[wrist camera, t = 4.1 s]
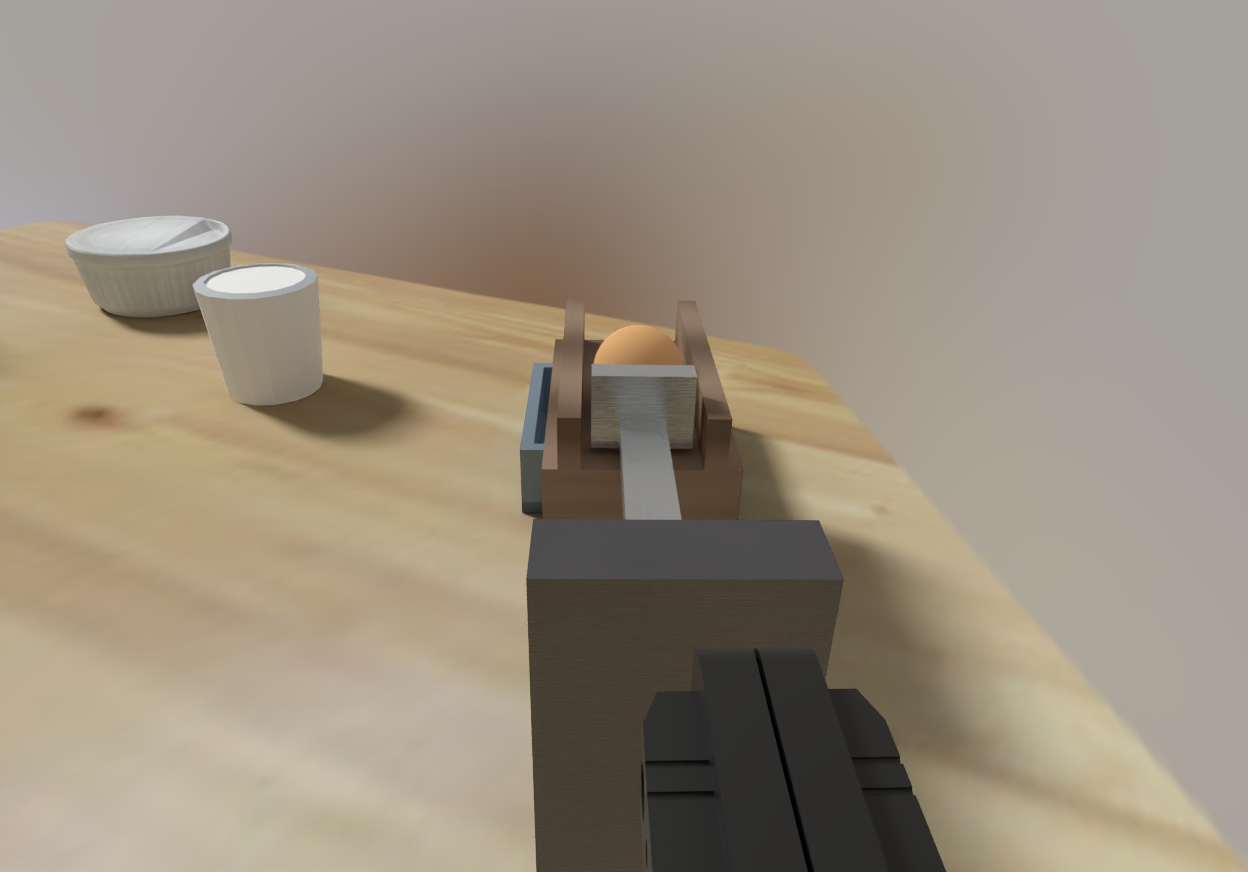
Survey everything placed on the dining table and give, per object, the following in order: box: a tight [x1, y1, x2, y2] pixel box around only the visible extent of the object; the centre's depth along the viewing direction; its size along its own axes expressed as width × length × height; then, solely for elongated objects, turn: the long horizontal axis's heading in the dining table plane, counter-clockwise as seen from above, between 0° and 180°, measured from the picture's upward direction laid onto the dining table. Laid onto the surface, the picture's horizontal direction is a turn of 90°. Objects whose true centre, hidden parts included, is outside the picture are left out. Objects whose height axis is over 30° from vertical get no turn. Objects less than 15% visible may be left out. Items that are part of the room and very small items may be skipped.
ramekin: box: [65, 216, 232, 317], centre depth 65 cm, size 11×11×5 cm
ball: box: [594, 325, 684, 365], centre depth 32 cm, size 4×4×4 cm
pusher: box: [526, 364, 843, 872], centre depth 25 cm, size 14×6×10 cm, turn 2°
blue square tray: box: [520, 363, 553, 513], centre depth 45 cm, size 10×10×4 cm
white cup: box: [193, 263, 323, 406], centre depth 51 cm, size 7×7×7 cm
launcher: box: [541, 299, 743, 520], centre depth 36 cm, size 12×7×10 cm, turn 2°
